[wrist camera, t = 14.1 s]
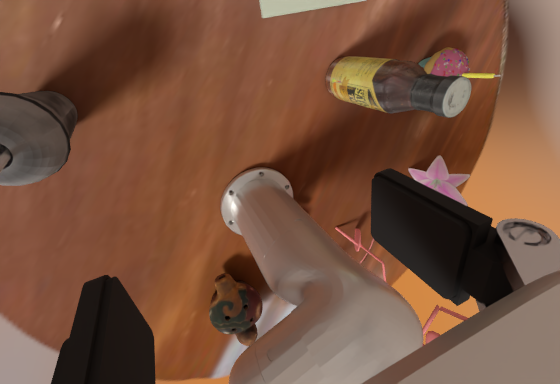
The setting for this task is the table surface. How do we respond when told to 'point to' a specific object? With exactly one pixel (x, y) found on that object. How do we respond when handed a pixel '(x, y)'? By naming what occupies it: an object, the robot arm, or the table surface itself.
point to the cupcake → (451, 64)
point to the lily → (441, 179)
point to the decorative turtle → (235, 309)
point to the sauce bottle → (396, 86)
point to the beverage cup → (34, 135)
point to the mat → (296, 6)
